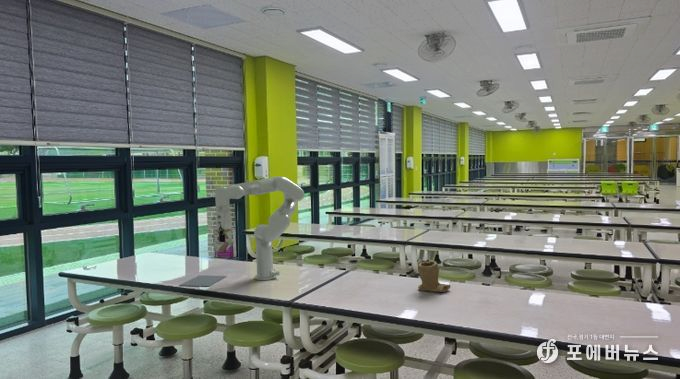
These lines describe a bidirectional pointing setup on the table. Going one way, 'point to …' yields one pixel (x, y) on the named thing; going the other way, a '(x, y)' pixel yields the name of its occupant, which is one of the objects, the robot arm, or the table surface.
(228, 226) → the robot arm
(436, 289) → the tan boot
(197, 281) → the charcoal mat
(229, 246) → the candy bar box
